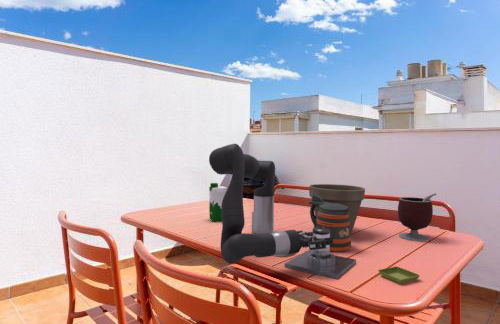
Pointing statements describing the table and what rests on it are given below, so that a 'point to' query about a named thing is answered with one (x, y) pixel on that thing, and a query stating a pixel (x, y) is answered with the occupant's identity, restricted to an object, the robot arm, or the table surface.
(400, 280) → the olive green shallow tray
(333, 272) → the hub plate
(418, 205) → the mate gourd
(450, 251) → the table surface
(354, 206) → the plant pot
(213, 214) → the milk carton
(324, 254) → the glass jar with lid
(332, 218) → the beer stein
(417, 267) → the table surface
